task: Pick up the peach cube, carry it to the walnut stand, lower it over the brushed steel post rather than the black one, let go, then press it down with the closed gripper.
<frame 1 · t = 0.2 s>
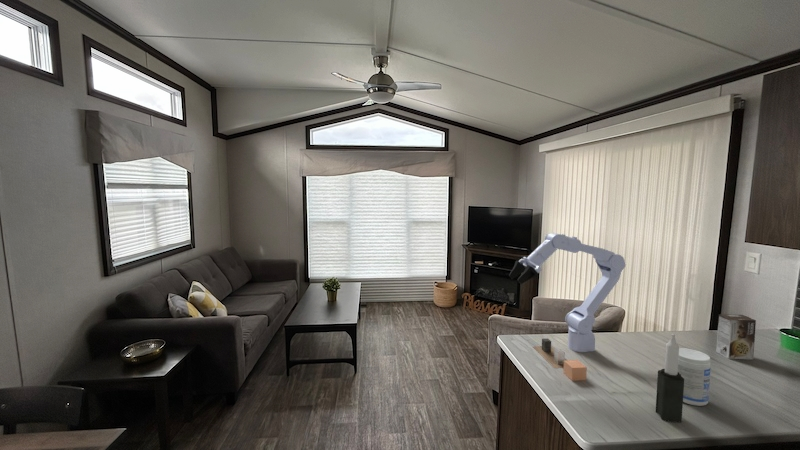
hand: (514, 279, 136), 31 cm above the kitchen island, tool tilted 45°, fingers open, 7 cm apart
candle: (668, 417, 100), on the kitchen island
stand: (552, 359, 135), on the kitchen island
peach cube: (574, 380, 120), on the kitchen island
steel post: (559, 362, 129), resting on stand
printed cardboard box: (734, 356, 137), on the kitchen island
supplement tub: (688, 398, 109), on the kitchen island
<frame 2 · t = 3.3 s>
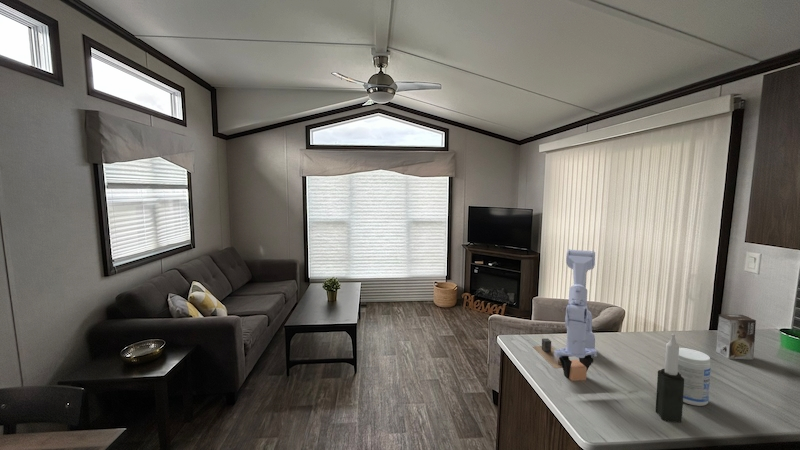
hand: (574, 375, 120), 2 cm above the kitchen island, tool pointing down, fingers closed on peach cube, 5 cm apart
peach cube: (574, 380, 120), on the kitchen island, touching gripper
everything else where it was.
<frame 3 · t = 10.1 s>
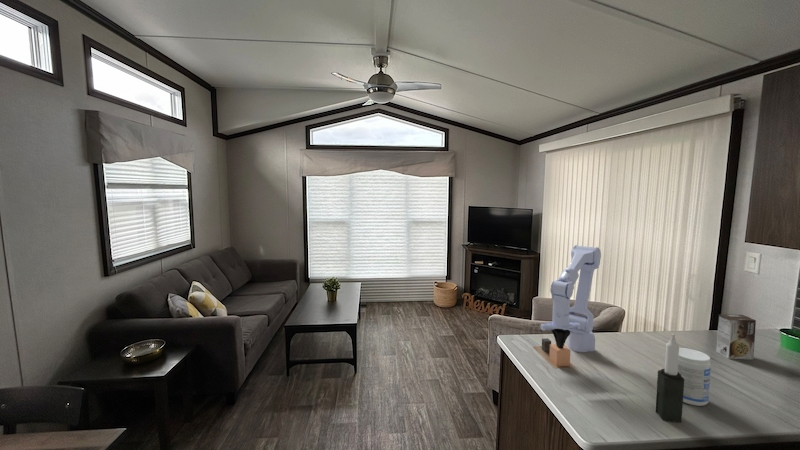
hand: (559, 347, 129), 7 cm above the kitchen island, tool pointing down, fingers closed, pressing on peach cube
peach cube: (559, 362, 129), point 1 cm above the kitchen island, touching gripper, stand
everything else where it was.
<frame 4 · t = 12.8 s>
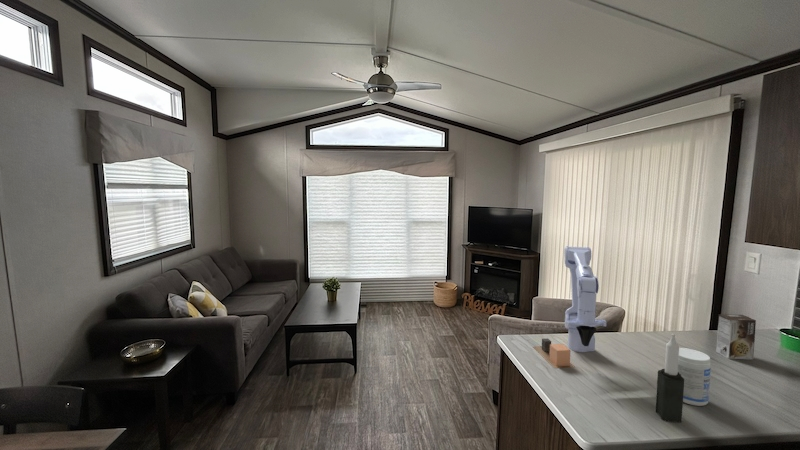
hand: (585, 345, 126), 9 cm above the kitchen island, tool pointing down, fingers closed
peach cube: (559, 362, 129), point 1 cm above the kitchen island, touching stand
everything else where it was.
at the end: peach cube 0.1 cm from the steel post (horizontally); peach cube point 1.5 cm above the kitchen island; peach cube tilted 0° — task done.
